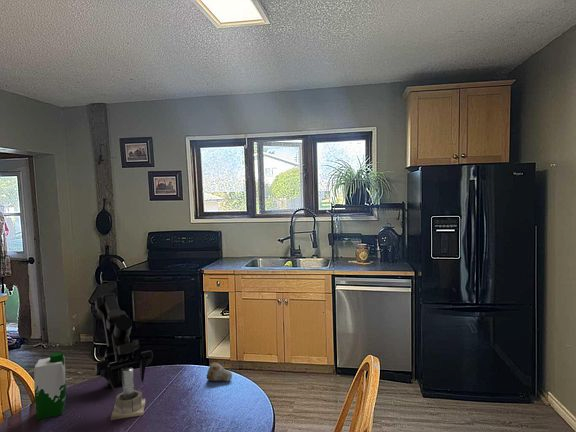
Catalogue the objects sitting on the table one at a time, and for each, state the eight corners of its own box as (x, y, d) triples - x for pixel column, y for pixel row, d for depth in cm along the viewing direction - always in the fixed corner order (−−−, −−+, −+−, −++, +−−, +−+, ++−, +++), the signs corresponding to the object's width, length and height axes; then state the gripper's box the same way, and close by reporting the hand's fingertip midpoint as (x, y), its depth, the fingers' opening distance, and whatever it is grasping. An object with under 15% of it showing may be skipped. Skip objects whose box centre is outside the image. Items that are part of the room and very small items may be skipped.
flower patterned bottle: (230, 385, 150) (217, 365, 149) (212, 393, 154) (199, 373, 152) (238, 373, 157) (225, 353, 156) (220, 380, 160) (207, 361, 159)
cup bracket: (115, 405, 136) (115, 391, 136) (145, 401, 139) (145, 387, 139) (110, 420, 126) (110, 405, 126) (143, 415, 129) (142, 400, 129)
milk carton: (64, 415, 130) (62, 357, 130) (33, 421, 126) (31, 362, 126) (67, 403, 138) (66, 348, 138) (38, 409, 135) (36, 353, 134)
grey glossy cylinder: (127, 404, 135) (126, 367, 135) (136, 404, 134) (135, 367, 134) (121, 409, 131) (120, 371, 131) (130, 409, 131) (129, 371, 131)
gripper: (95, 338, 131) (101, 382, 122) (151, 328, 141) (160, 367, 132) (93, 354, 137) (98, 396, 128) (146, 343, 148) (154, 382, 139)
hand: (128, 385), depth 132 cm, fingers open, 9 cm apart
